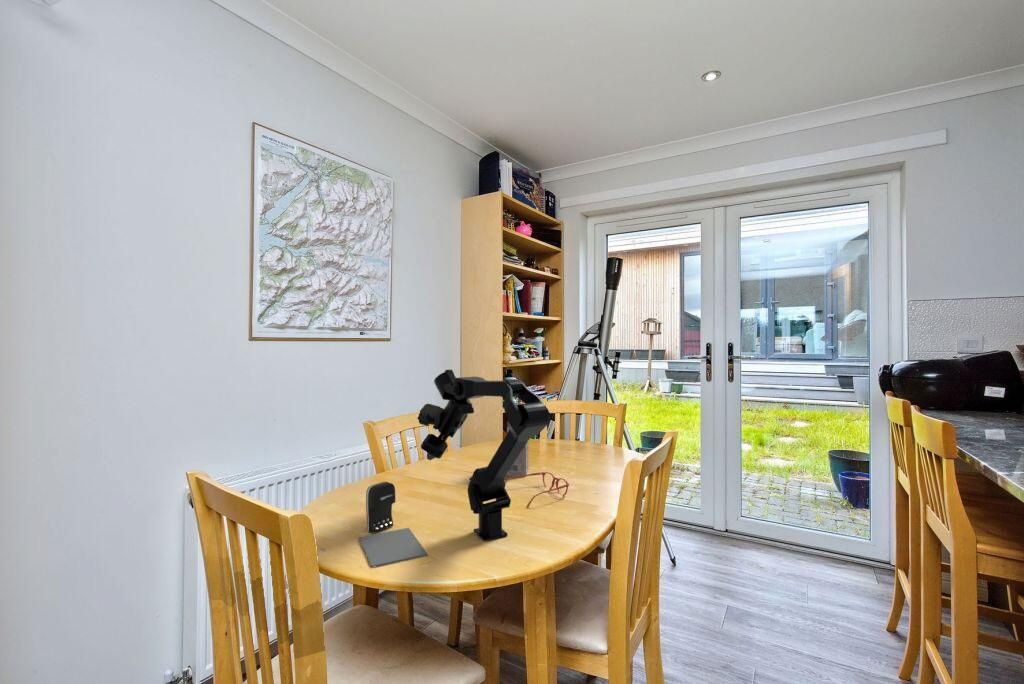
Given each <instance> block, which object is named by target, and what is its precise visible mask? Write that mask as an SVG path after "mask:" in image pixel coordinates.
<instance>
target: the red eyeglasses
mask: <svg viewBox="0 0 1024 684" xmlns="http://www.w3.org/2000/svg"><path fill="white" fill-rule="evenodd" d="M546 474H549V475H551V476H552V481H551V486H550V488H551V489H548V490H544V491H541V492H538V493H536V494H535V495H534V496H532V498H531V499H530V500H529V502H528V504H527V505H526V506H528V507H530V505H531V503H532V501H533V500H534V498H536V497H537V496H539V495H543V494H545V493H549V492H552V491H556V490H557V492H558V493H559V492H560V490H562V489H564V488H565V492H564V494H563V495H564V496H566V495H567V493H568V489H569V486H570V483H569V482H568V481H567V480H566V479H564V478H563V477H562V478H558V477H556V476H554V474H553V473H551V472H548V471H546V472H544V471H542V472H541V471H540V472H533V473H528V474H527V475H521V476H510V477H509V478H507V479H506V480H505V484H506V485H507V482H509V480H511V479H515V478H521V477H523V476H526V477H528V476H529V477H530V476H531V477H532V476H541V475H542V482H543V485H544V487H545V486H547V485H546V483H545V482H546V481H545V475H546ZM523 478H524V477H523ZM560 480H562V481H564V482H565V484H564V485H561V486H559V482H560ZM554 485H555V487H556V488H554Z"/></svg>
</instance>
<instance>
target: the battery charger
mask: <svg viewBox="0 0 1024 684" xmlns="http://www.w3.org/2000/svg"><path fill="white" fill-rule="evenodd" d="M365 494H366V495H365V497H366V498H365V507H366V508H365V509H366V511H365V512H366V532H368V533H372V534H377V533H382V532H383V531H385V530H388V529H390V528H392V527H393V526H394V520H393V516H392V515H393V514H392V513H393V511H392V510H393V509H392V507H393V504H395V503H396V487H395V485H394V484H393V483H392V482H388V481H385V480H384V481H380V482H376V483H373V484H371V485H369V486H368V487H367V488H366V492H365Z"/></svg>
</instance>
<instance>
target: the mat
mask: <svg viewBox="0 0 1024 684" xmlns="http://www.w3.org/2000/svg"><path fill="white" fill-rule="evenodd" d="M358 539H360V540H359V542H360V544H361V546H363V547H362V549H363V551H364V554H365V555H367V556H366V557H367V559H368V560H367V561H368V563H369V564H371V565H370V567H371V566H372V567H373V568H375V567H374V566H378V567H381V565H382V566H387V565H391V564H395V563H400V561H401V562H404V561H410V560H413V559H418V558H423V557H427V556H428V555H429V553H428V552H427V551H426V550H425V548H424V546H423V545H422V544H421V543H420V541H419V540H418V538H417V537H416V536H415V534H414V533H413V532H412V530H411V529H410V528H409V527H404V528H400V529H395V530H389V531H384V532H383V531H382V532H378V533H372V534H368V535H363V536H359V537H358ZM386 564H387V565H386ZM372 567H371V568H372Z"/></svg>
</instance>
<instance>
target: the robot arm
mask: <svg viewBox="0 0 1024 684" xmlns="http://www.w3.org/2000/svg"><path fill="white" fill-rule="evenodd" d="M433 383H434V385H435V387H436V389H437V391H438V393H439V394H440V397H441V398H442V400H444V401H448V402H447V404H446V405H445V407H444V408H442V407H441V406H439V405H435V404H431V403H425V404H424V405H423V407H422V408H421V409H420V410H419V414H418V416H417V418H416V419H417V420H418V423H419V425H423V426H427V427H428V426H429V425H433V426H432V429H434V430H437V431H438V432H439V433H440V434H439V435H438V436H436V435H435V434H433V433H428V434H427V436H426V437H425V438H424V440H423V441H422V443H421V444H420V449H422V450H423V451H424V452H426V459H427V461H431V460H434V459H441V458H442V457H443V455H444V454H445V452H446V450H447V448H448V447H449V445H448V443H447V440H448V438H449V437H450V438H453V437H454V436H455V434H456V433H457V431H458V430H460V428H461V427H462V426H463V424H464V423H465V421H467V418H468V415H469V414H474V413H475V410H474V407H473V403H472V402H471V401H470V400H471V399H472V400H473V399H481V398H483V397H484V398H485V397H501V398H502V399H503V406H504V407H503V408H504V409H503V410H504V413H505V414H506V416H507V417H508V418H507V422H508V426H509V431H508V433H507V432H506V434H505V436H504V438H503V440H502V441H501V443H500V444H499V446H498V447H497V450H496V452H495V453H494V455H493V456H492V458H491V460H490V461H489V463H488V465H487V466H483V467H479V468H476V469H475V470H474V471H473V473H472V475H471V477H469V479H468V480H469V483H468V485H467V496H468V502H469V505H470V506H469V507H470V510H471V511H472V513H473V514H474V515H478V527H477V528H473V532H474V534H475V535H476V536H477V537H479V538H480V540H482V541H484V542H485V541H486V542H487V541H490V540H494V539H498V538H503V537H508V532H506V531H505V530H504V529H503V509H508V508H510V506H511V502H512V500H511V498H510V496H509V494H508V491H507V489H506V487H507V483H506V484H505V481H506V480H505V478H506V476H507V473H508V471H509V470H510V468H511V467H512V465H513V463H514V462H515V460H516V459H517V457H518V456H519V454H520V452H521V451H522V449H523V448H524V446H525V445H526V443H527V441H528V440H530V439H532V438H534V437H535V436H537V435H538V434H540V433H541V432H542V431H544V429H545V428H546V427H547V426H549V423H550V420H551V417H550V414H551V413H550V410H549V409H548V407H547V405H546V404H545V403H544V402H543V400H542V399H541V397H540V396H539V395H537V394H536V393H535V392H533V391H532V390H531V389H530V388H528V387H527V386H526V384H525V383H524V382H523V381H522V380H520V379H518V378H517V379H505V380H486V379H485V378H483V377H480V376H463V377H456V376H455V372H454V371H453V369H445V370H444V371H443V372H442V373H439V374H438V375H437V376H436V377H435V378H434V381H433ZM514 398H518V399H519V400H520V401H521V402H522V403H519V404H516V402H515V401H514ZM492 500H493V501H492ZM488 501H489V502H488Z"/></svg>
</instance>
